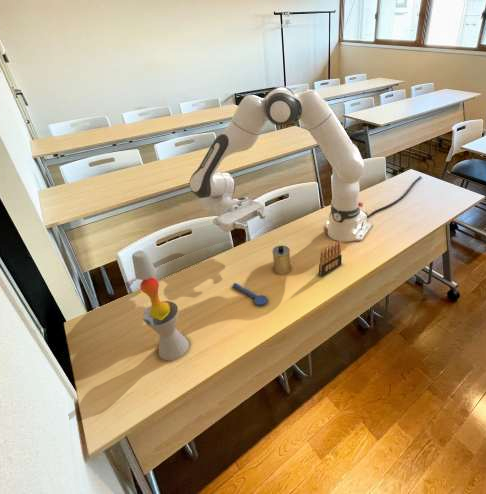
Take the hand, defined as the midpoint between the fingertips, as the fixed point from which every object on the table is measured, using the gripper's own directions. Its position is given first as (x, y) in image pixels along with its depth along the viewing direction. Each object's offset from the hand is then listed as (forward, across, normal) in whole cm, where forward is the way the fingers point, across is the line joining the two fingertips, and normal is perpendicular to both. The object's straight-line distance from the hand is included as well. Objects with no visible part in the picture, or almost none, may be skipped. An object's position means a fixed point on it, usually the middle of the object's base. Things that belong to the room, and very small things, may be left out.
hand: (255, 221), depth 126 cm
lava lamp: (+11, -48, +17) cm, 52 cm away
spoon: (+13, -18, +17) cm, 28 cm away
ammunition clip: (+27, +11, +17) cm, 34 cm away
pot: (+12, 0, +17) cm, 21 cm away
